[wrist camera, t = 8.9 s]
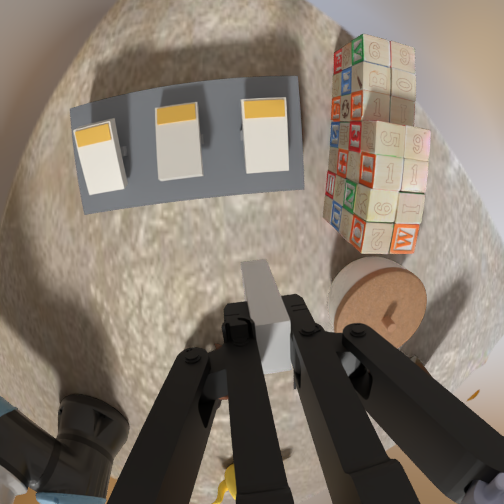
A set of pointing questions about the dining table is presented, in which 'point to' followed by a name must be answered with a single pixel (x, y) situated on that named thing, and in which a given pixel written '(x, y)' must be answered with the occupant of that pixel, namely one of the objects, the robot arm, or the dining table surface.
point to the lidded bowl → (377, 298)
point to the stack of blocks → (376, 148)
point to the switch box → (212, 142)
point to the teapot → (227, 485)
